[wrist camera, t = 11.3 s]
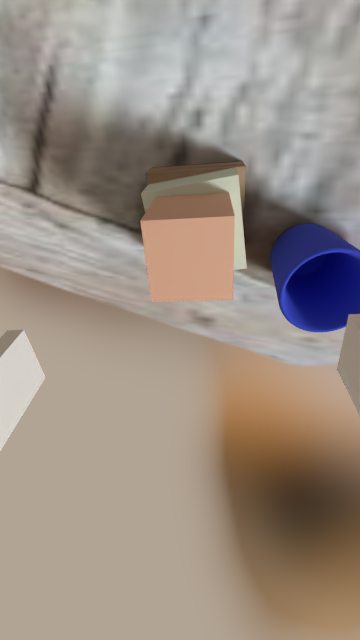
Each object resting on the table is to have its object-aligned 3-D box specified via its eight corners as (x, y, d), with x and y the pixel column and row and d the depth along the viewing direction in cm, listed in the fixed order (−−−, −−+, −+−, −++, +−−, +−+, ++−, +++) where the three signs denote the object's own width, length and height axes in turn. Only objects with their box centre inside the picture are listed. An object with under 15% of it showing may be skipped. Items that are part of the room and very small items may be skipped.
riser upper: (148, 184, 30) (140, 193, 26) (235, 167, 28) (238, 174, 25) (166, 263, 34) (162, 280, 30) (242, 252, 32) (246, 268, 29)
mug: (365, 283, 37) (410, 333, 29) (259, 284, 38) (274, 333, 30) (386, 211, 33) (447, 245, 24) (266, 215, 34) (285, 248, 25)
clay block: (155, 196, 26) (140, 220, 20) (228, 192, 26) (234, 216, 20) (162, 264, 30) (151, 302, 24) (228, 261, 29) (233, 300, 23)
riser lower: (152, 166, 32) (145, 173, 29) (241, 160, 31) (245, 166, 28) (161, 251, 37) (156, 264, 34) (239, 247, 36) (242, 261, 33)
